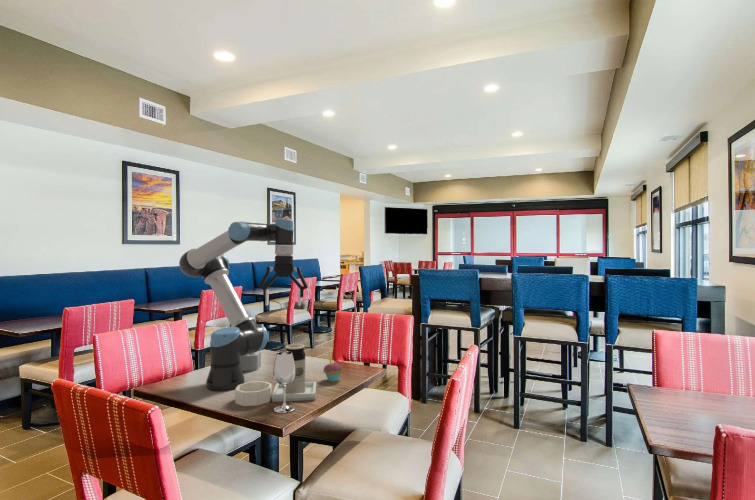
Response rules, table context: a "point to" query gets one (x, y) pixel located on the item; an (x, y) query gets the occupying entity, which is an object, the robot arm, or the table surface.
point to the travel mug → (297, 369)
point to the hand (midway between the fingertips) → (283, 305)
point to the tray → (307, 395)
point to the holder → (253, 393)
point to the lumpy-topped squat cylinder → (250, 361)
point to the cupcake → (333, 370)
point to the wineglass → (284, 376)
